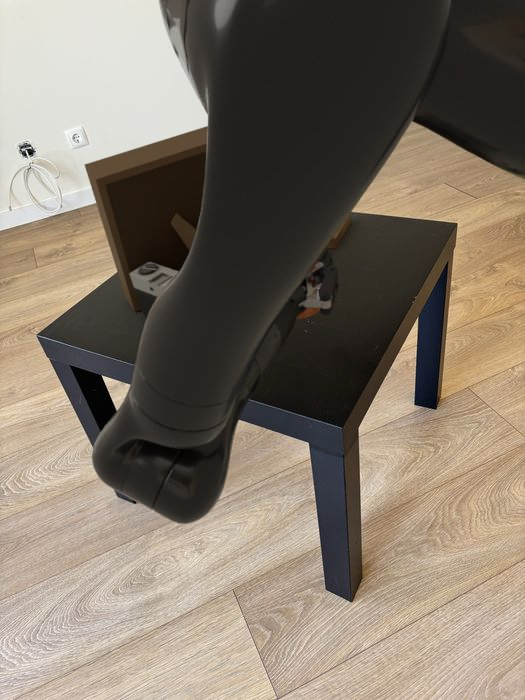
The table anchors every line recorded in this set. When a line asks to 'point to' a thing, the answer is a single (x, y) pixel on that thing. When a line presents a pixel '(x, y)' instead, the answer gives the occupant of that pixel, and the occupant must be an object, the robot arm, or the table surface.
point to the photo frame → (151, 203)
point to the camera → (150, 283)
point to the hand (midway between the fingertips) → (299, 252)
